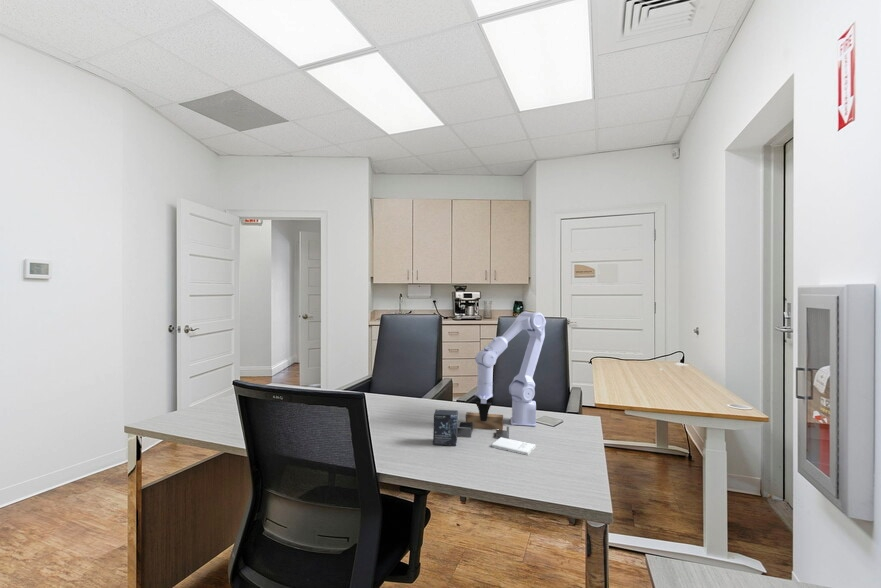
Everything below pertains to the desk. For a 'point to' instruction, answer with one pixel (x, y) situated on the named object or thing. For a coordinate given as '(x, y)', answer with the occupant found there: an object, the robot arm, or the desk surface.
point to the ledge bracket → (502, 433)
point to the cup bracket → (464, 429)
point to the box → (445, 427)
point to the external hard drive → (513, 446)
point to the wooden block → (491, 423)
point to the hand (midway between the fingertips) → (484, 417)
